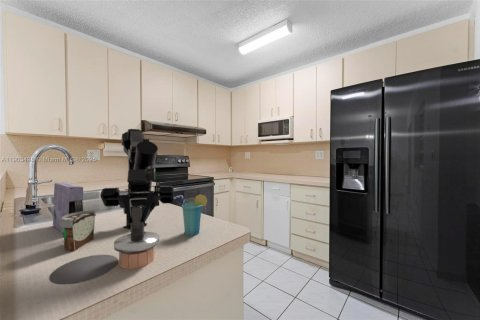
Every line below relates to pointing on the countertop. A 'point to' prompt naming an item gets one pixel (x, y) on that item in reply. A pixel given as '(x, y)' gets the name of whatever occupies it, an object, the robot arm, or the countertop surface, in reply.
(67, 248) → the food container
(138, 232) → the steel lid
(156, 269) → the countertop surface
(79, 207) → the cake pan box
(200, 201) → the cup
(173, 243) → the countertop surface
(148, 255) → the terracotta bowl
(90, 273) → the rubber mat
